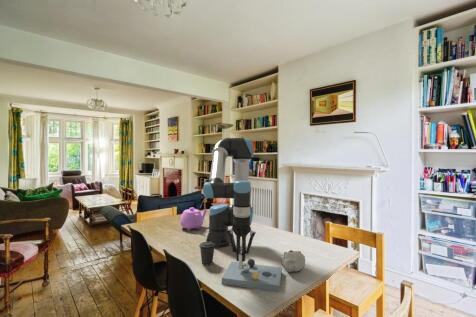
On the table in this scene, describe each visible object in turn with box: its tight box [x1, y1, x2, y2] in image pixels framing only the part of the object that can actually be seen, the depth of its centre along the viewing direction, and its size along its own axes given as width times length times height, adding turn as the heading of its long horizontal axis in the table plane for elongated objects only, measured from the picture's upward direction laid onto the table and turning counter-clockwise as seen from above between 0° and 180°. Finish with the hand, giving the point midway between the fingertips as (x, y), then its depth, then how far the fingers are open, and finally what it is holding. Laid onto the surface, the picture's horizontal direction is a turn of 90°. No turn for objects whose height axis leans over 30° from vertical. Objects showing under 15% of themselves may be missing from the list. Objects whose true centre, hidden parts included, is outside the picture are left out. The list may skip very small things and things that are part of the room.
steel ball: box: [242, 264, 250, 272], centre depth 108 cm, size 4×4×4 cm
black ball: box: [246, 258, 256, 267], centre depth 113 cm, size 4×4×4 cm
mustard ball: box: [252, 272, 259, 280], centre depth 102 cm, size 3×3×3 cm
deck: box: [221, 261, 283, 293], centre depth 108 cm, size 24×16×2 cm, turn 76°
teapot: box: [179, 207, 208, 232], centre depth 179 cm, size 20×20×15 cm
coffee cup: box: [198, 241, 216, 266], centre depth 122 cm, size 8×8×10 cm
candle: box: [281, 250, 306, 273], centre depth 117 cm, size 9×11×15 cm
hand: (240, 268), depth 108 cm, fingers closed
